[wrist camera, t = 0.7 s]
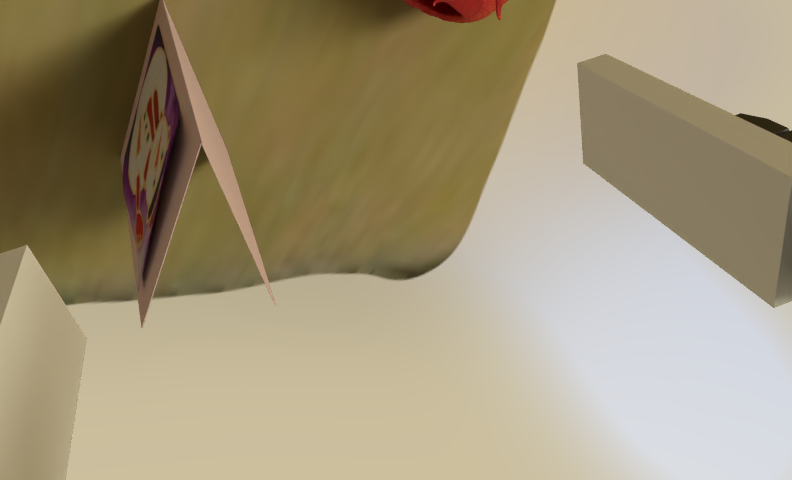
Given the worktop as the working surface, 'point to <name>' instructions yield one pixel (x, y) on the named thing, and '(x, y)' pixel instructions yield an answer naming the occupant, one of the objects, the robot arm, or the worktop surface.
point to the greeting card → (170, 156)
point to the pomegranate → (459, 9)
